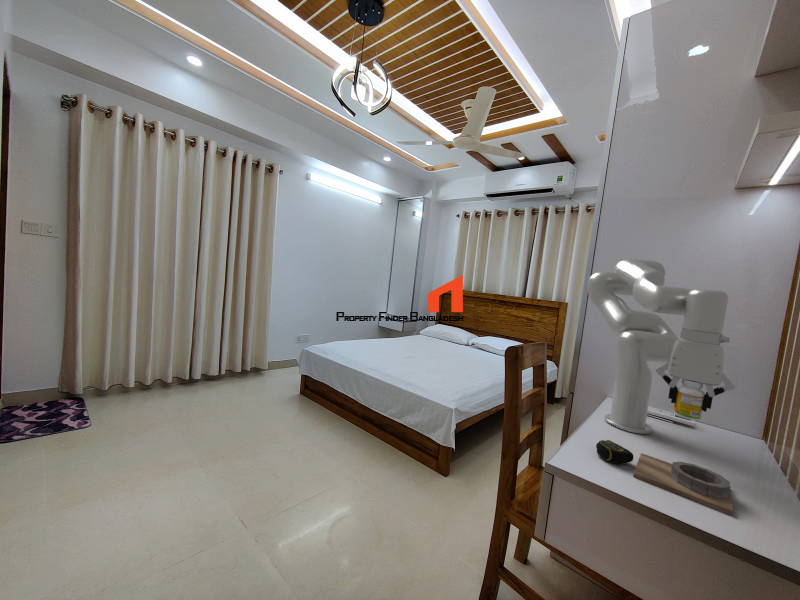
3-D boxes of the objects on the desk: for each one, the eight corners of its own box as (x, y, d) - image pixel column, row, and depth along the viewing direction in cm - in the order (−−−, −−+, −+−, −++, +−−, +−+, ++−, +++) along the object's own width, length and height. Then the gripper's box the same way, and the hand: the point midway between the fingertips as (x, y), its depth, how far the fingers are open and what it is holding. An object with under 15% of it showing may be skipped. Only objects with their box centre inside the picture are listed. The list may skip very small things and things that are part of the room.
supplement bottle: (675, 410, 86) (681, 376, 86) (702, 418, 82) (709, 382, 81) (670, 414, 83) (676, 378, 82) (697, 423, 79) (704, 385, 78)
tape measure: (634, 466, 79) (636, 451, 78) (613, 468, 76) (615, 453, 76) (608, 451, 85) (610, 438, 85) (589, 453, 83) (591, 439, 83)
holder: (640, 456, 84) (642, 443, 83) (727, 487, 73) (729, 473, 73) (633, 476, 73) (635, 462, 73) (732, 516, 62) (735, 499, 62)
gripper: (747, 343, 78) (734, 414, 79) (658, 330, 90) (648, 392, 91) (751, 346, 72) (737, 422, 74) (656, 332, 84) (645, 398, 85)
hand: (688, 405), depth 82 cm, fingers closed on supplement bottle, 5 cm apart
